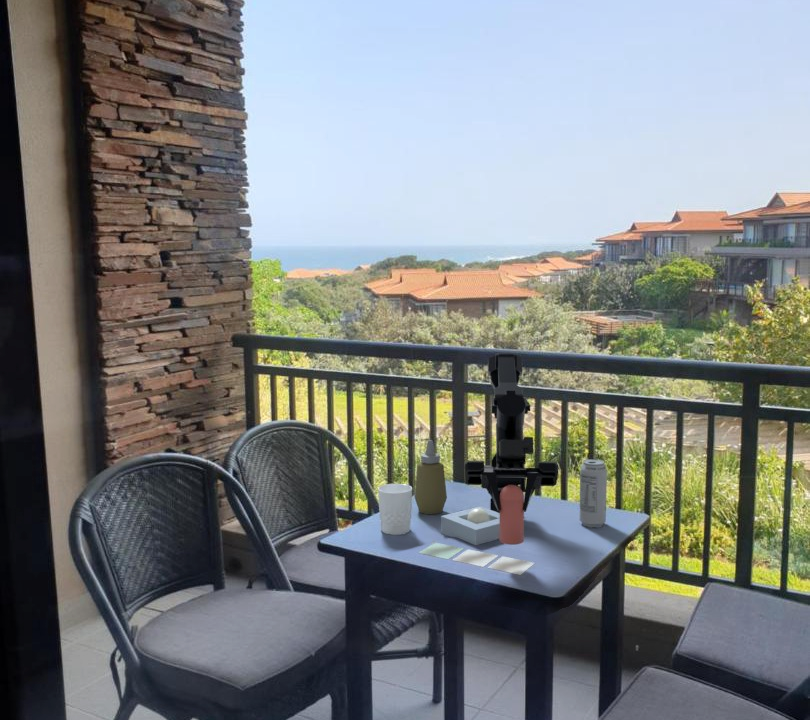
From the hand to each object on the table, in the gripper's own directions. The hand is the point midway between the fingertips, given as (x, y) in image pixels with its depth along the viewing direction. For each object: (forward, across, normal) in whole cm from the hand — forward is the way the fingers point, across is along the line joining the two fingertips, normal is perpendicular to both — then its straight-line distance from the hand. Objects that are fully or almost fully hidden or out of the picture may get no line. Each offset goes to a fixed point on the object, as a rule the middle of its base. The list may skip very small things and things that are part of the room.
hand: (511, 510), depth 158 cm
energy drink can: (-12, +20, +30) cm, 38 cm away
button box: (-6, -6, +24) cm, 25 cm away
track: (+5, -7, +12) cm, 15 cm away
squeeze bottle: (-17, -18, +35) cm, 43 cm away
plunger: (-6, -7, +23) cm, 25 cm away
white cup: (-7, -26, +25) cm, 37 cm away
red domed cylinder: (+4, 0, +6) cm, 7 cm away
